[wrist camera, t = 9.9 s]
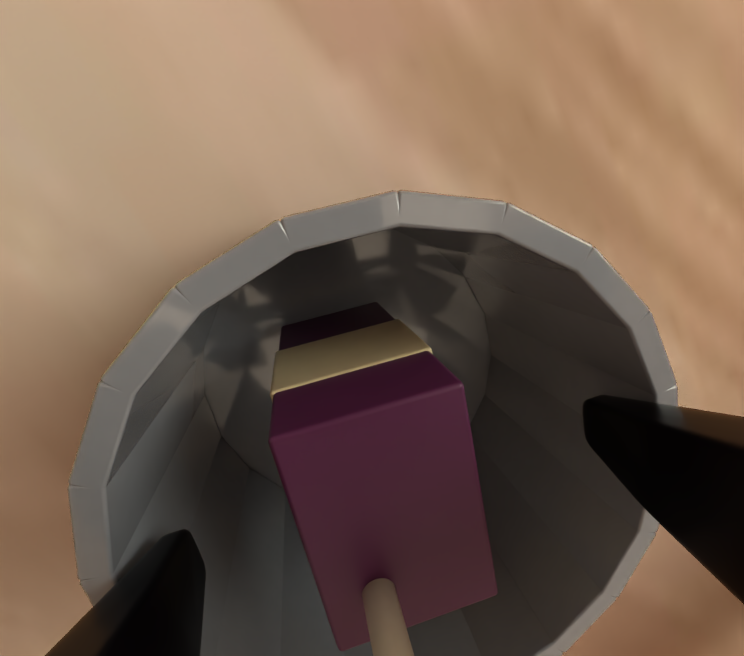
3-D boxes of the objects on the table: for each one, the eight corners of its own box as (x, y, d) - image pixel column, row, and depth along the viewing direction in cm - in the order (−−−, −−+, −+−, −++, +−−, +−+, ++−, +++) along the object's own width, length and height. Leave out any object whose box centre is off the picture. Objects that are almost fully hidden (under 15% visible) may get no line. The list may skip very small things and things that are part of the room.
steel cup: (470, 176, 13) (677, 122, 6) (510, 448, 16) (680, 625, 9) (139, 256, 12) (-87, 304, 5) (251, 534, 15) (213, 816, 8)
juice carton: (378, 299, 13) (570, 470, 4) (406, 424, 14) (596, 763, 5) (278, 324, 13) (239, 580, 4) (316, 451, 14) (357, 867, 5)
